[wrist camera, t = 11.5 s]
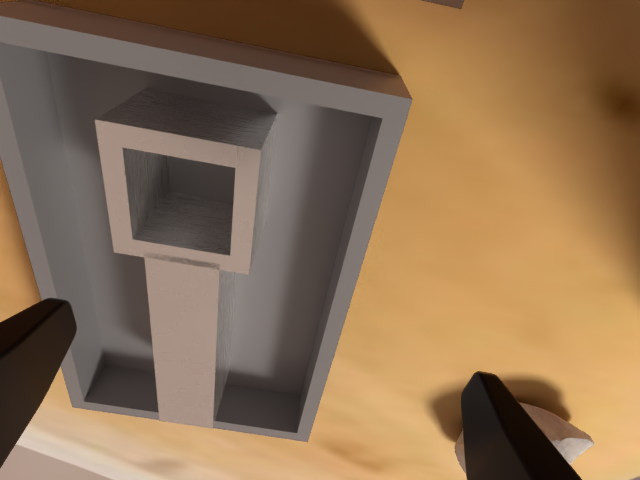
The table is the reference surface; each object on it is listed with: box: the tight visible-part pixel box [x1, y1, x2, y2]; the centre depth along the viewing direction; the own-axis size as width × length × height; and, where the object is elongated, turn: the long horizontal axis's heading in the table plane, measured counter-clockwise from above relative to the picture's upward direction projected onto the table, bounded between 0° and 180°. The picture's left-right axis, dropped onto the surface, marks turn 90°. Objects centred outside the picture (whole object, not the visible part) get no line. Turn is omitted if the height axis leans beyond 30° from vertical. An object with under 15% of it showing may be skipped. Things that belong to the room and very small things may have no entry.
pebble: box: [455, 403, 594, 473], centre depth 28 cm, size 9×8×5 cm
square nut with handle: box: [95, 88, 278, 428], centre depth 20 cm, size 17×5×4 cm, turn 170°
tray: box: [0, 0, 412, 442], centre depth 20 cm, size 22×15×4 cm
